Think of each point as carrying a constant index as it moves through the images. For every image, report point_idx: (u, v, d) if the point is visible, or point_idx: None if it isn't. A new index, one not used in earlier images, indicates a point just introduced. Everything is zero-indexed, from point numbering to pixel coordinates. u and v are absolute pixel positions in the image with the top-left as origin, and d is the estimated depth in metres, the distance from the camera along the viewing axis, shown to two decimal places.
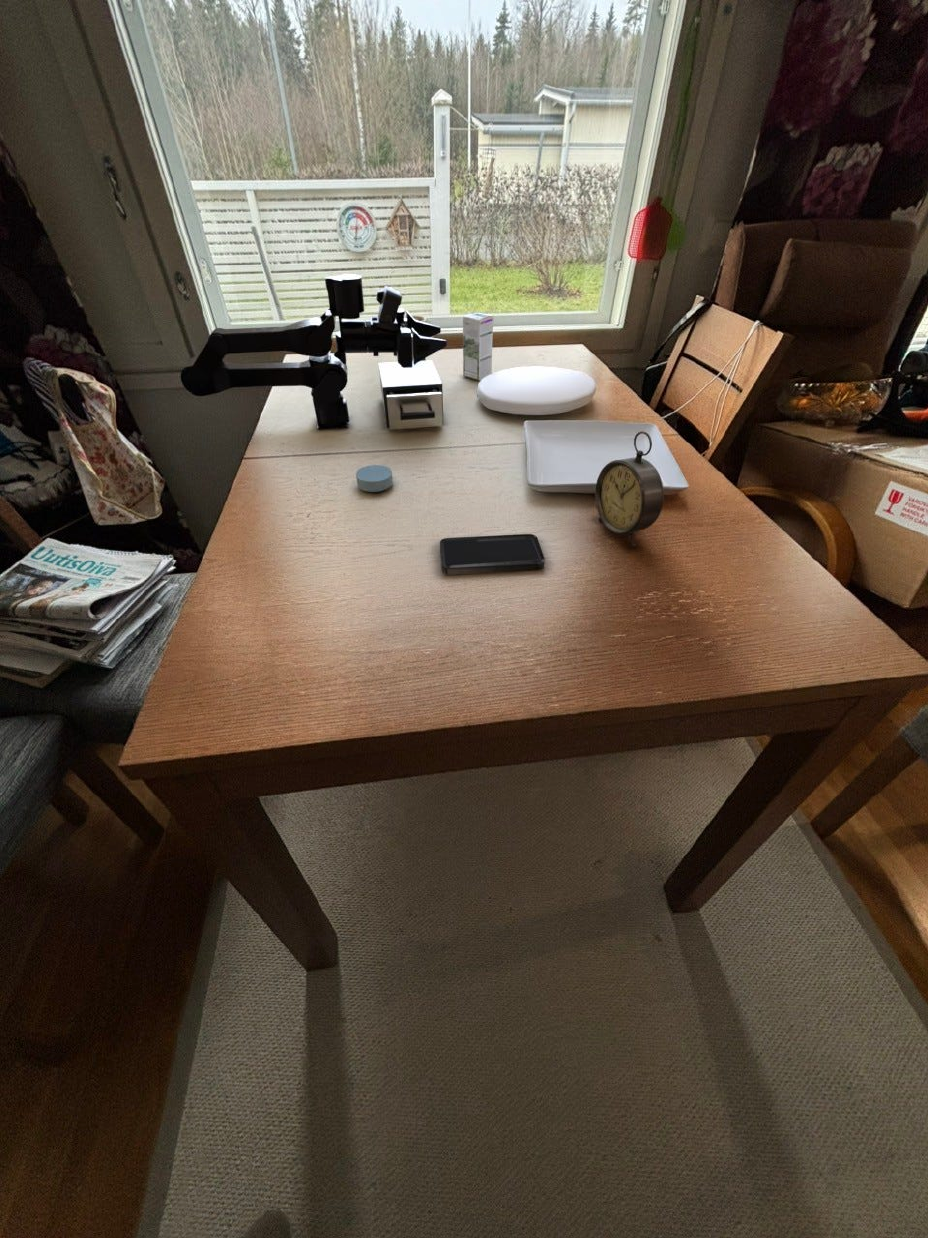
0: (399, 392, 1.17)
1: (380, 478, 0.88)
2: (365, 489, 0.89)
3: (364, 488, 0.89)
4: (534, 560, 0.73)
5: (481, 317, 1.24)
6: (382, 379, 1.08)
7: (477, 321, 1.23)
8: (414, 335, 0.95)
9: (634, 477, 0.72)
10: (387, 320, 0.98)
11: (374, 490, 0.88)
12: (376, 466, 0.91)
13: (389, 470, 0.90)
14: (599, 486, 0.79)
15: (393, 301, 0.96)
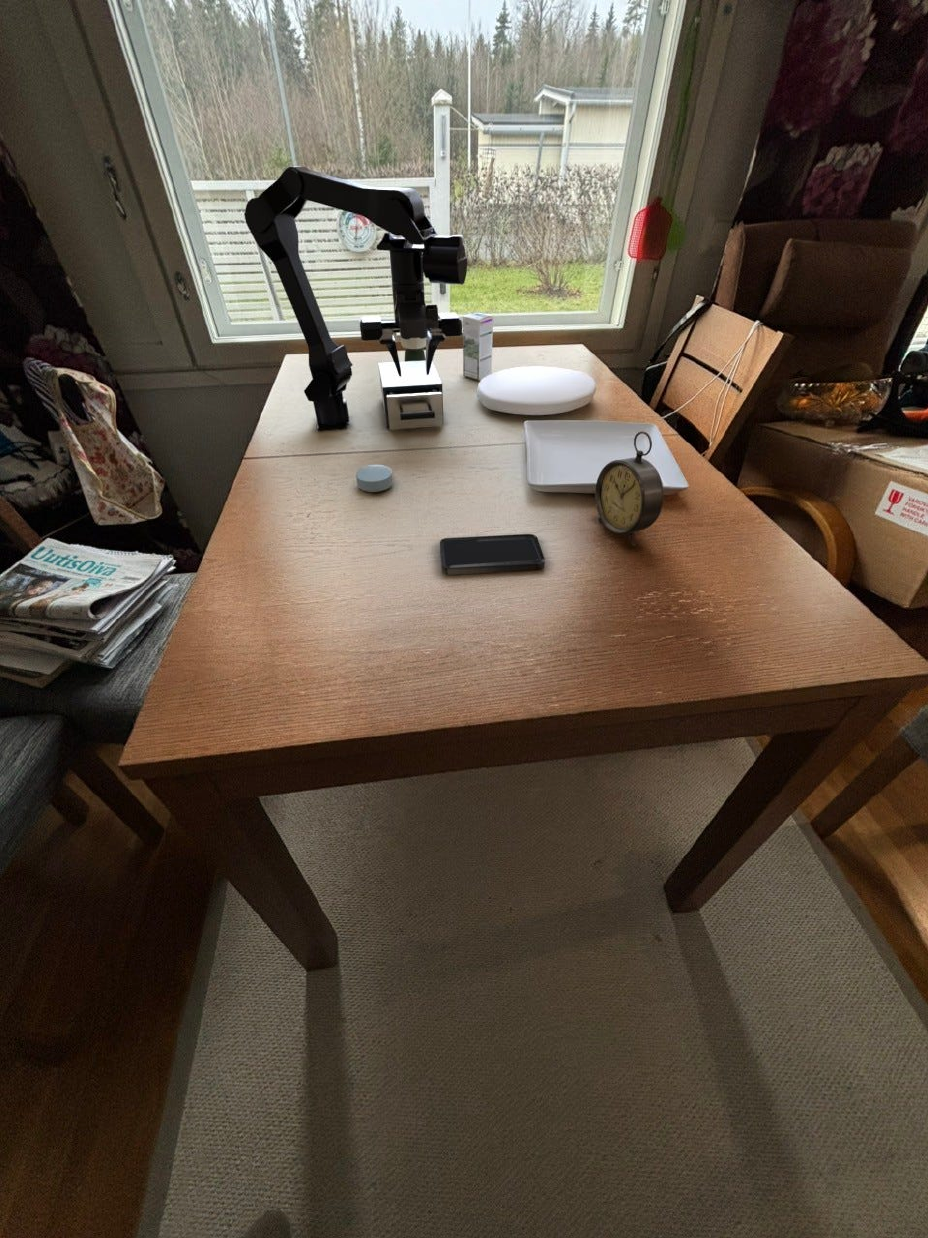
0: (399, 392, 1.17)
1: (380, 478, 0.88)
2: (365, 489, 0.89)
3: (364, 488, 0.89)
4: (534, 560, 0.73)
5: (481, 317, 1.24)
6: (382, 379, 1.08)
7: (477, 321, 1.23)
8: (379, 342, 0.93)
9: (634, 477, 0.72)
10: (396, 314, 0.89)
11: (374, 490, 0.88)
12: (376, 466, 0.91)
13: (389, 470, 0.90)
14: (599, 486, 0.79)
15: (400, 327, 0.88)
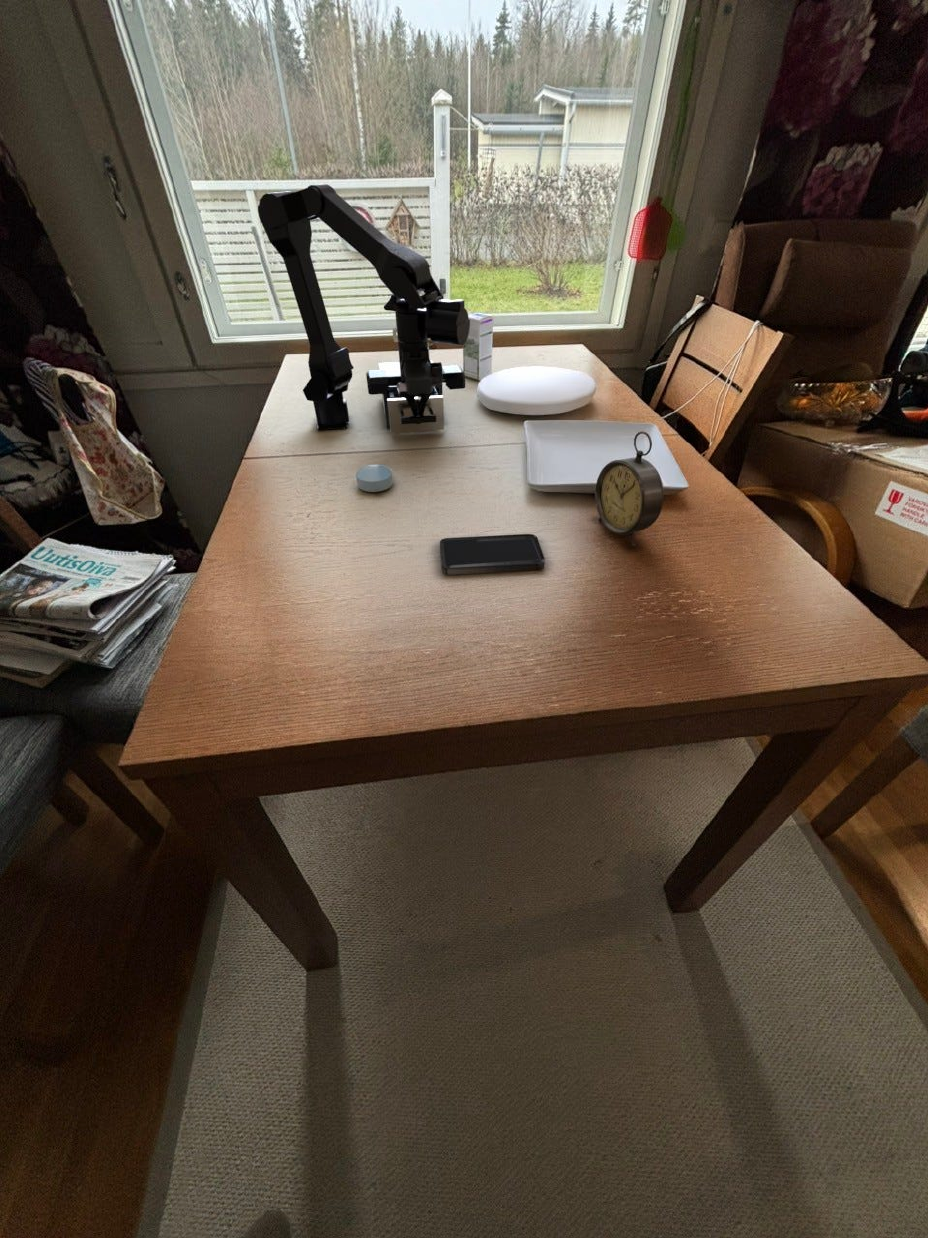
0: None
1: (380, 478, 0.88)
2: (365, 489, 0.89)
3: (364, 488, 0.89)
4: (534, 560, 0.73)
5: (481, 317, 1.24)
6: None
7: (477, 321, 1.23)
8: (399, 395, 0.96)
9: (634, 477, 0.72)
10: (402, 370, 0.92)
11: (374, 490, 0.88)
12: (376, 466, 0.91)
13: (389, 470, 0.90)
14: (599, 486, 0.79)
15: (405, 383, 0.91)
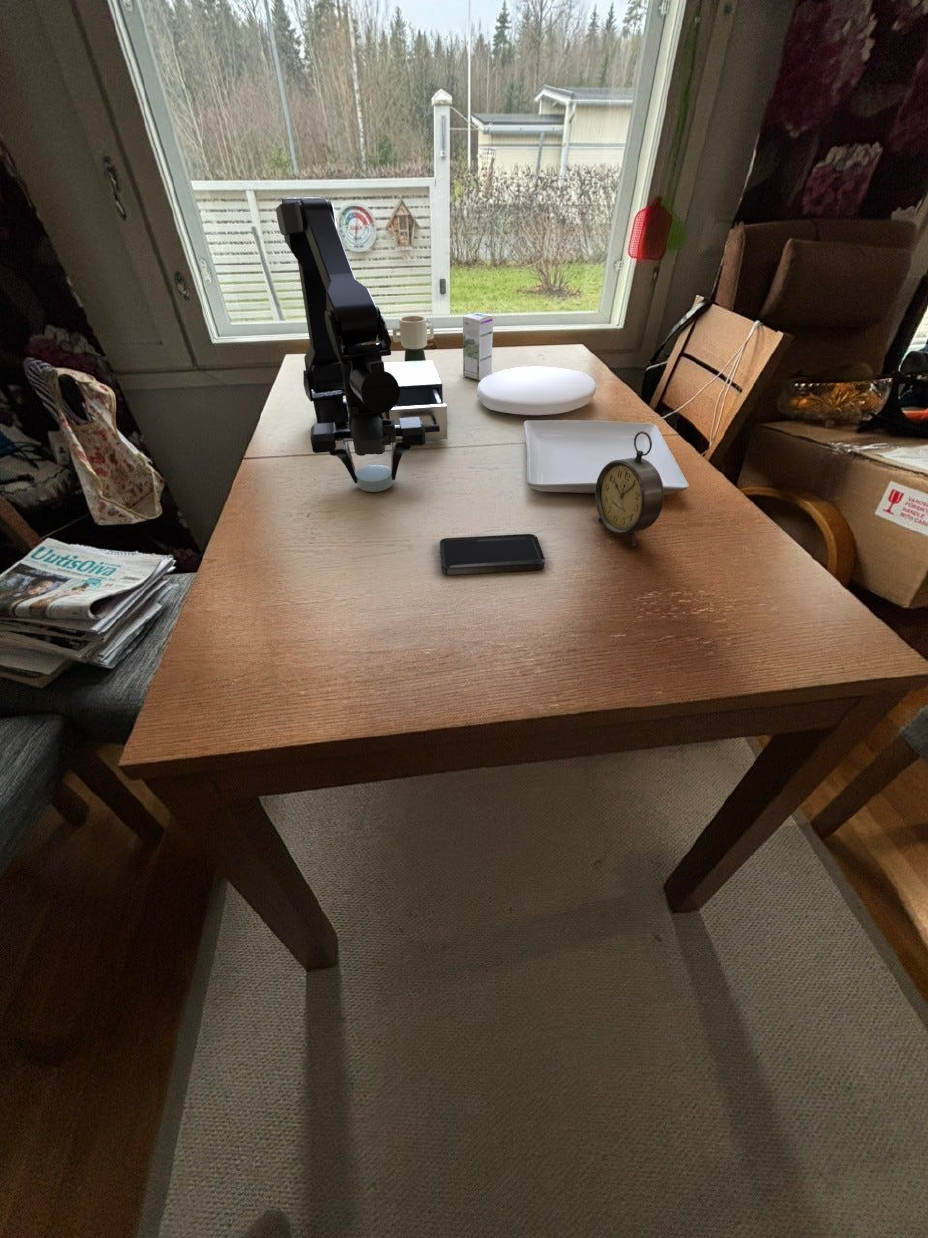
0: (402, 403, 1.12)
1: (380, 478, 0.88)
2: (365, 489, 0.89)
3: (364, 488, 0.89)
4: (534, 560, 0.73)
5: (481, 317, 1.24)
6: None
7: (477, 321, 1.23)
8: (330, 454, 0.84)
9: (634, 477, 0.72)
10: (350, 427, 0.80)
11: (374, 490, 0.88)
12: (376, 466, 0.91)
13: (389, 470, 0.90)
14: (599, 486, 0.79)
15: (353, 443, 0.79)
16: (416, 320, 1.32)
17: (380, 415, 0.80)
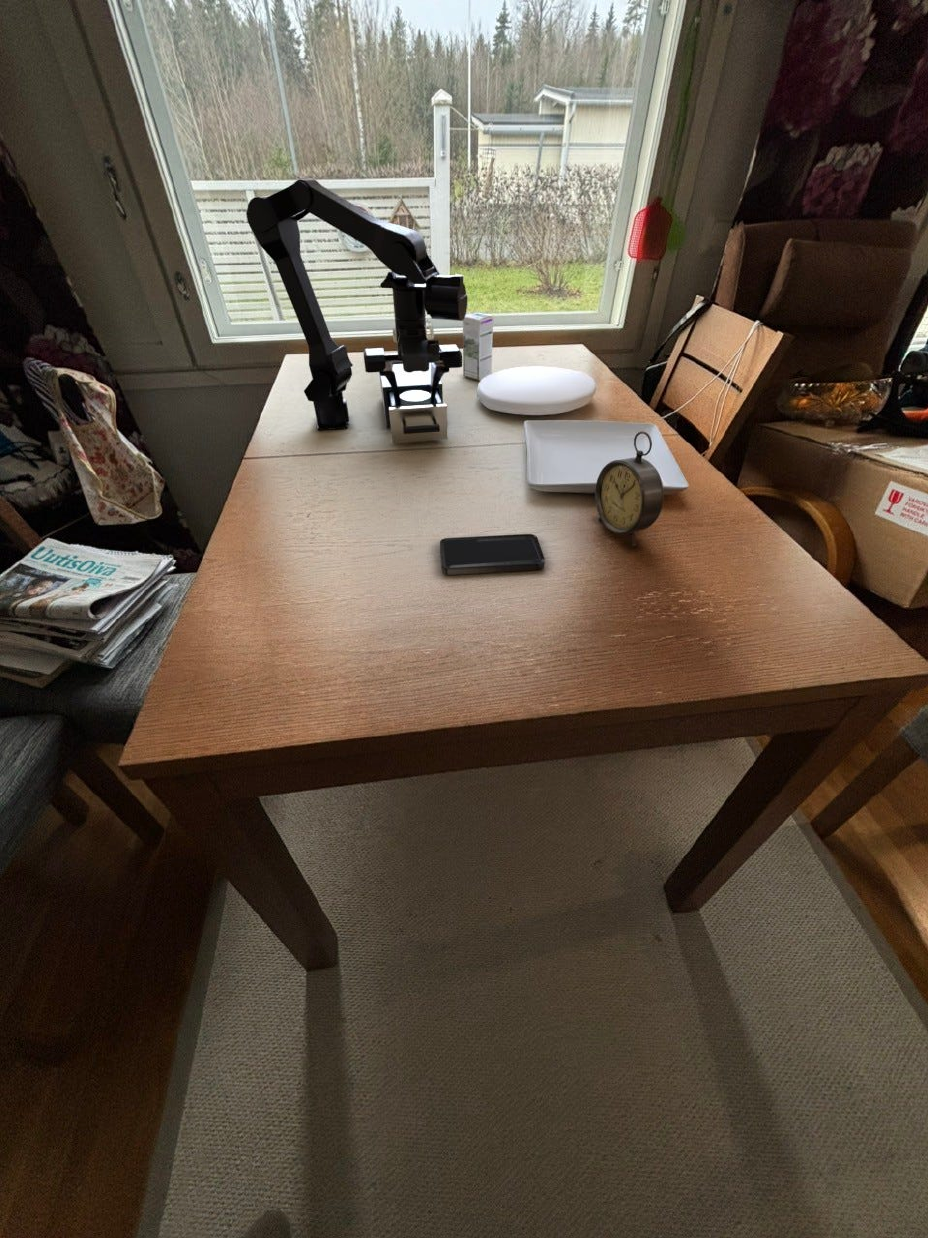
0: None
1: (421, 399, 1.01)
2: None
3: None
4: (534, 560, 0.73)
5: (481, 317, 1.24)
6: (382, 379, 1.08)
7: (477, 321, 1.23)
8: (380, 374, 0.96)
9: (634, 477, 0.72)
10: (399, 348, 0.93)
11: None
12: (416, 391, 1.04)
13: (428, 394, 1.03)
14: (599, 486, 0.79)
15: (402, 361, 0.91)
16: None
17: (425, 338, 0.93)
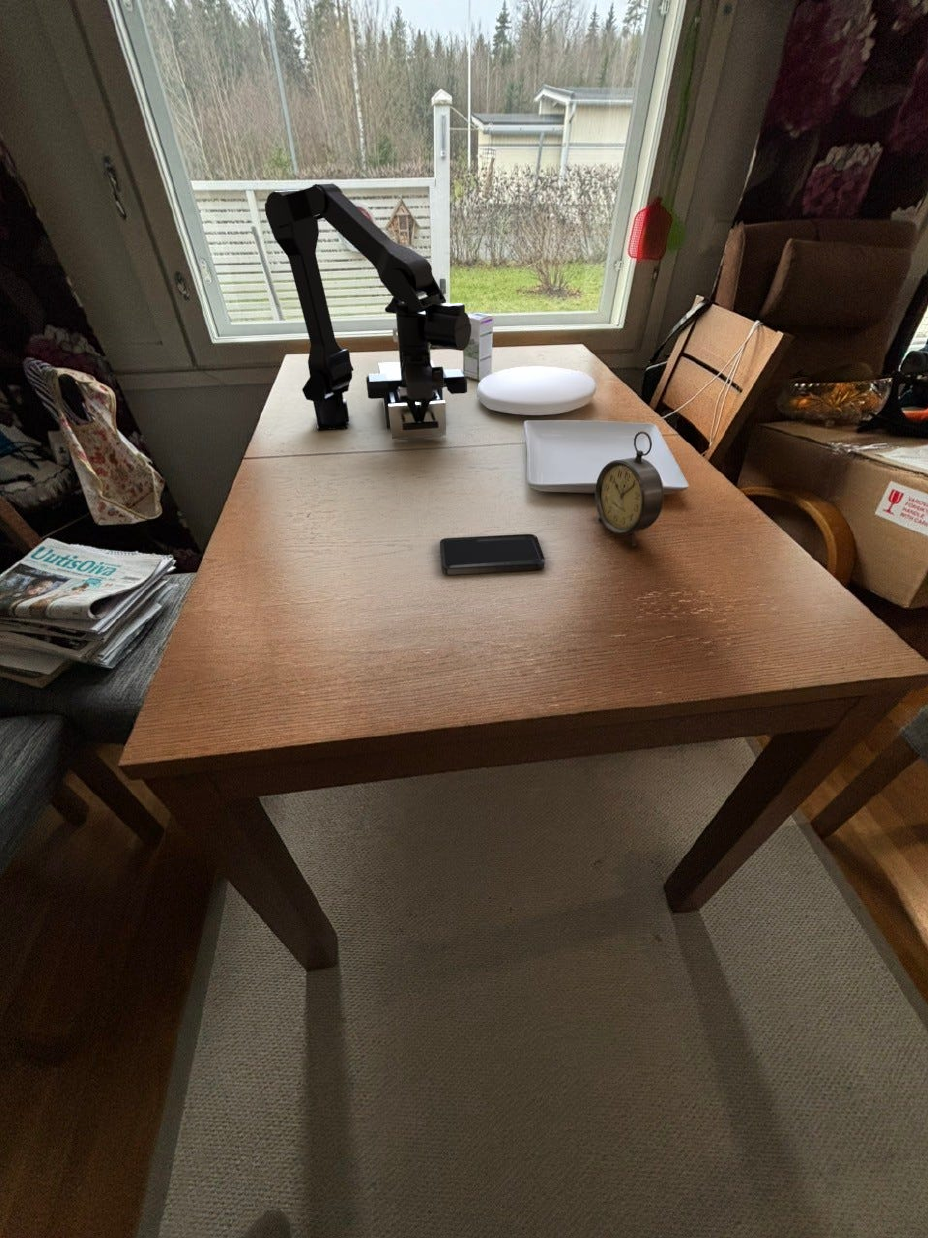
0: None
1: None
2: None
3: None
4: (534, 560, 0.73)
5: (481, 317, 1.24)
6: None
7: (477, 321, 1.23)
8: (399, 399, 0.94)
9: (634, 477, 0.72)
10: (402, 374, 0.90)
11: None
12: None
13: None
14: (599, 486, 0.79)
15: (406, 388, 0.89)
16: None
17: (429, 364, 0.90)
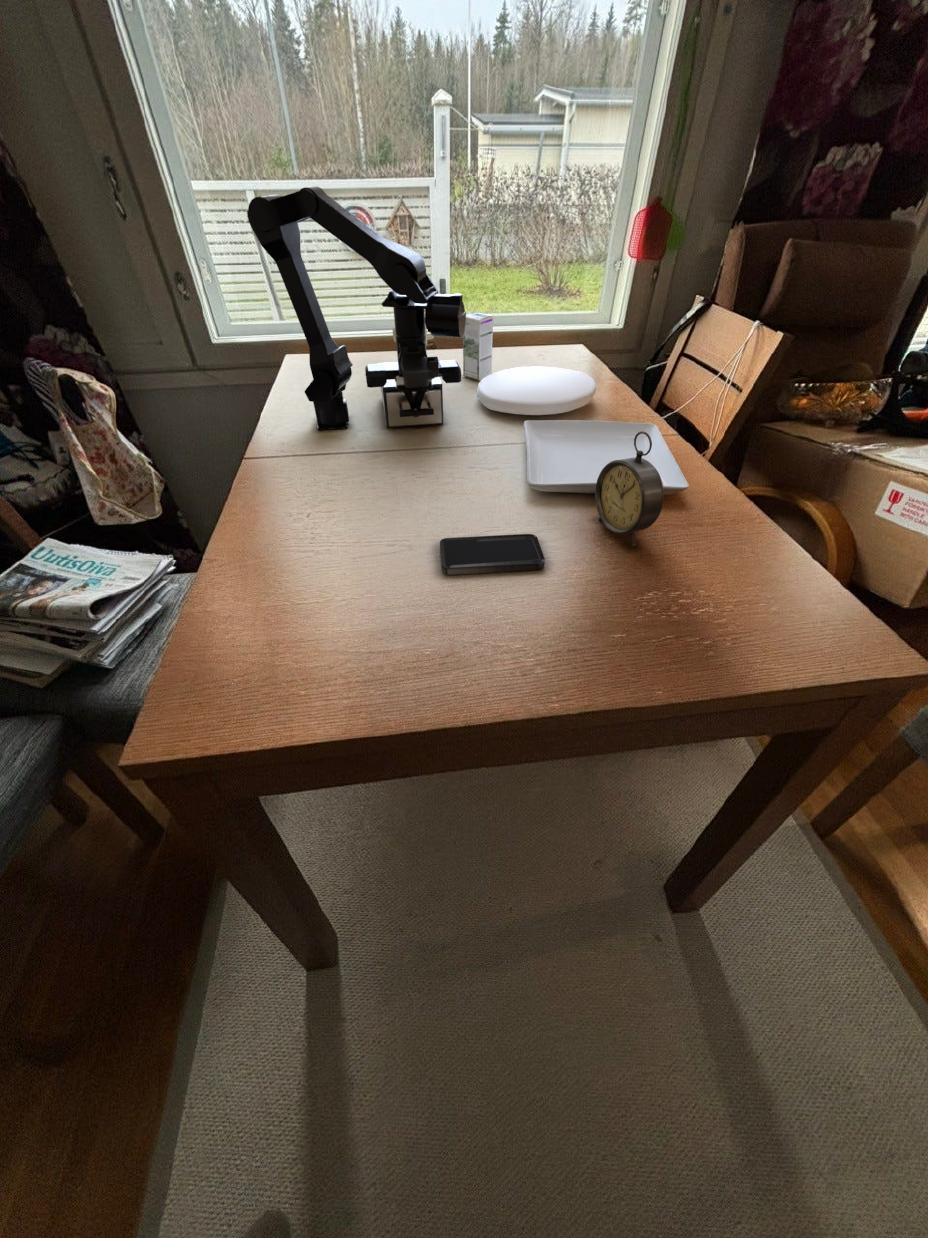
0: None
1: None
2: None
3: None
4: (534, 560, 0.73)
5: (481, 317, 1.24)
6: None
7: (477, 321, 1.23)
8: (396, 388, 0.99)
9: (634, 477, 0.72)
10: (399, 364, 0.95)
11: None
12: None
13: None
14: (599, 486, 0.79)
15: (403, 377, 0.94)
16: None
17: (425, 354, 0.95)
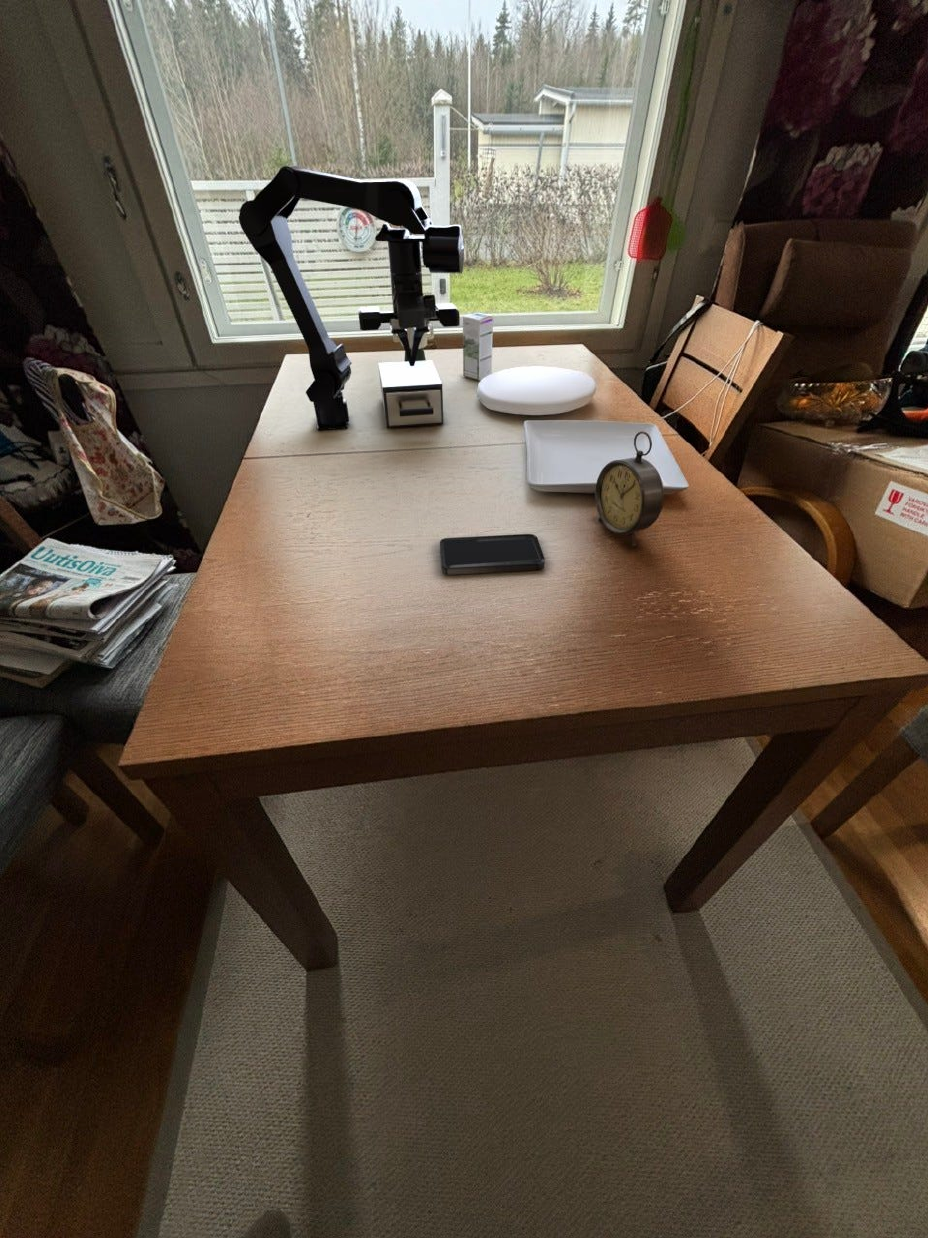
0: None
1: None
2: None
3: None
4: (534, 560, 0.73)
5: (481, 317, 1.24)
6: (382, 379, 1.08)
7: (477, 321, 1.23)
8: (391, 332, 0.94)
9: (634, 477, 0.72)
10: (394, 304, 0.90)
11: None
12: None
13: None
14: (599, 486, 0.79)
15: (398, 317, 0.89)
16: None
17: (421, 293, 0.90)
